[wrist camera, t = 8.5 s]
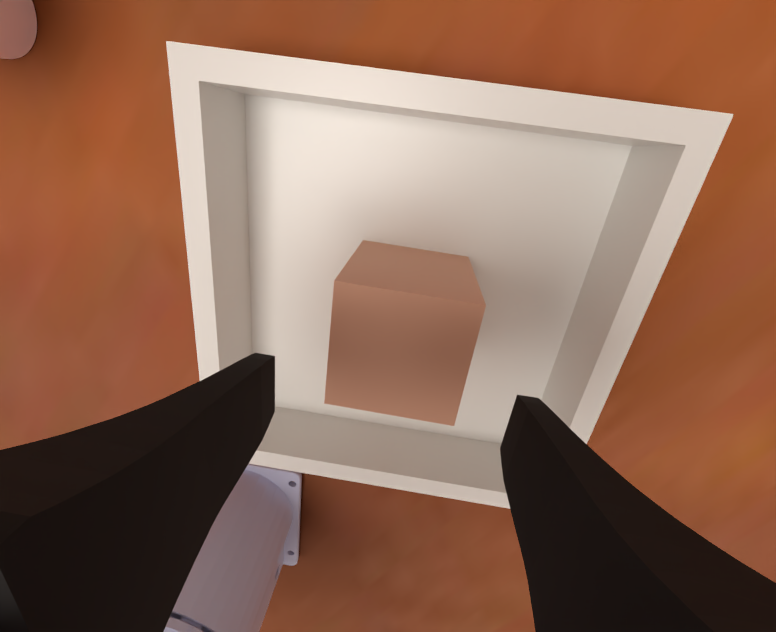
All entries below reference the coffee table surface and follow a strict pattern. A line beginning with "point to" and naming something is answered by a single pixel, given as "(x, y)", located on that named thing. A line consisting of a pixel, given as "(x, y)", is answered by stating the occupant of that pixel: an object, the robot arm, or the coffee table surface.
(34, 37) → the smoothie
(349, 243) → the tray
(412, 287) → the brown cube block
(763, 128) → the coffee table surface
